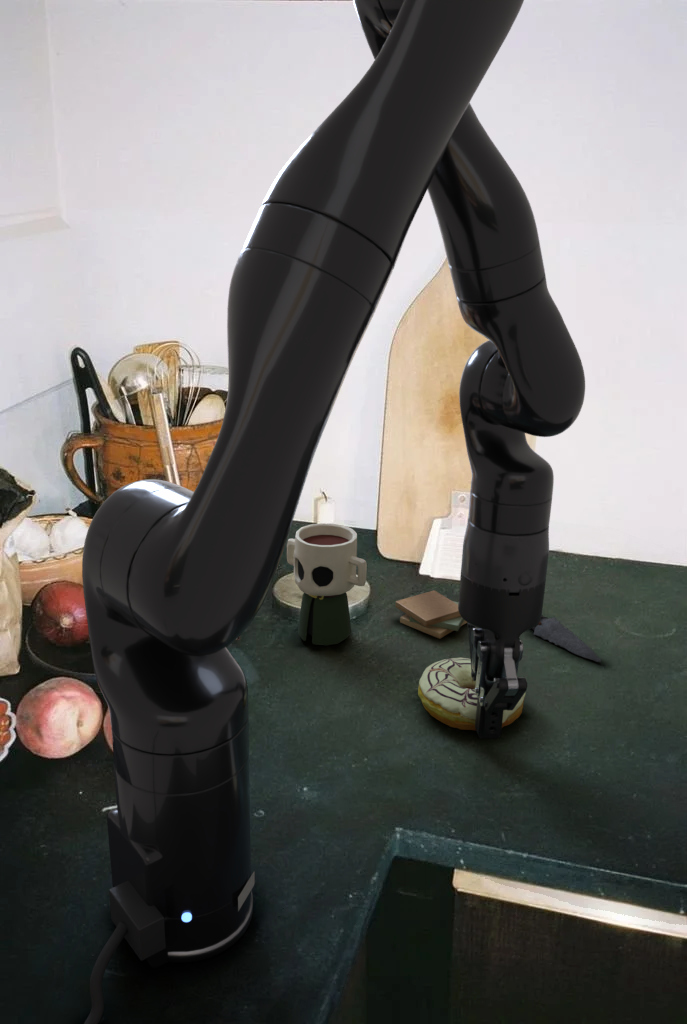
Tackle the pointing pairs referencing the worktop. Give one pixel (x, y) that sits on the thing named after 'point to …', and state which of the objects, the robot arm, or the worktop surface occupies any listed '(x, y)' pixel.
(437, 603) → the coaster stack
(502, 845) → the worktop surface
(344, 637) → the character mug
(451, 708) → the decorated donut
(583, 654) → the knife
